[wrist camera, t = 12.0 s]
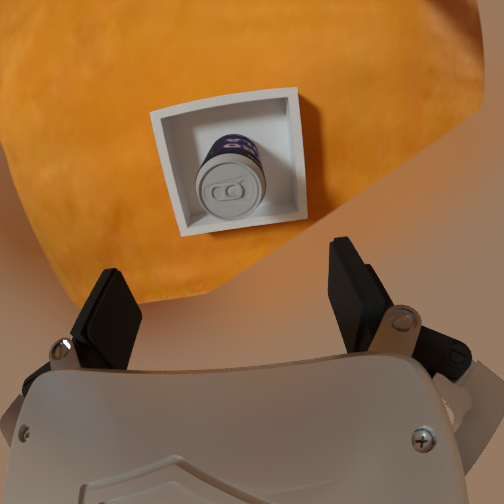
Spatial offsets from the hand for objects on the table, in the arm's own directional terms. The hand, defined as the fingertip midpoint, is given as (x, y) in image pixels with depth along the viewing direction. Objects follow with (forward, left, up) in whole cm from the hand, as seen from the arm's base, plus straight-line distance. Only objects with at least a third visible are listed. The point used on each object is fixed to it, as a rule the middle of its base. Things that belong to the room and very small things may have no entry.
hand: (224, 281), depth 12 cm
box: (0, 0, -23) cm, 23 cm away
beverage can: (0, 0, -23) cm, 23 cm away
